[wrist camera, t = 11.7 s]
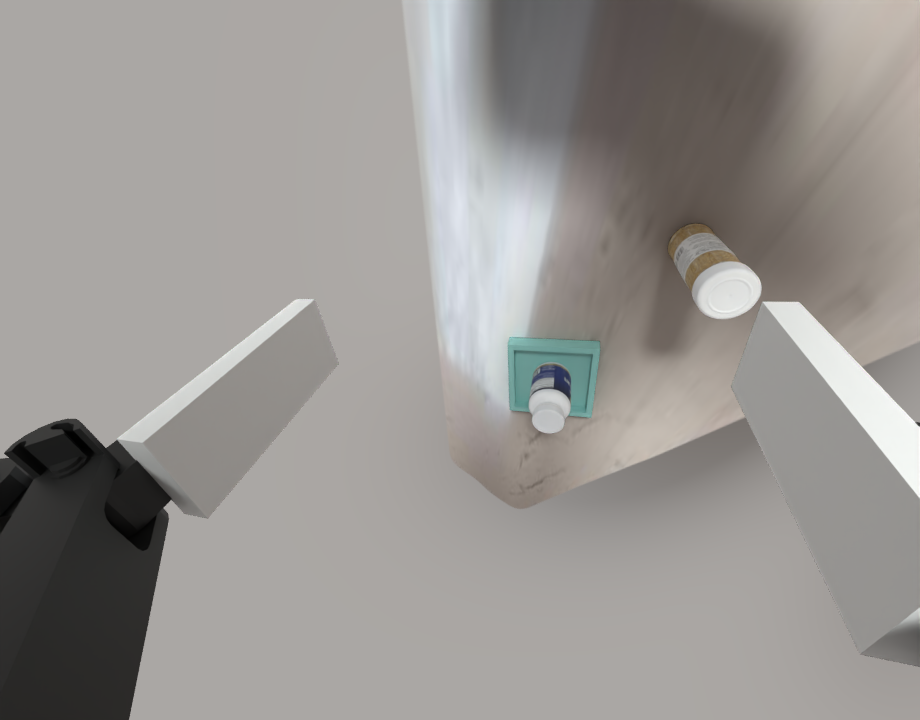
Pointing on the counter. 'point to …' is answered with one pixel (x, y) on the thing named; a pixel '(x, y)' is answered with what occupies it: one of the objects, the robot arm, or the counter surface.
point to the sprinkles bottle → (713, 273)
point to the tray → (569, 353)
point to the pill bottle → (550, 397)
